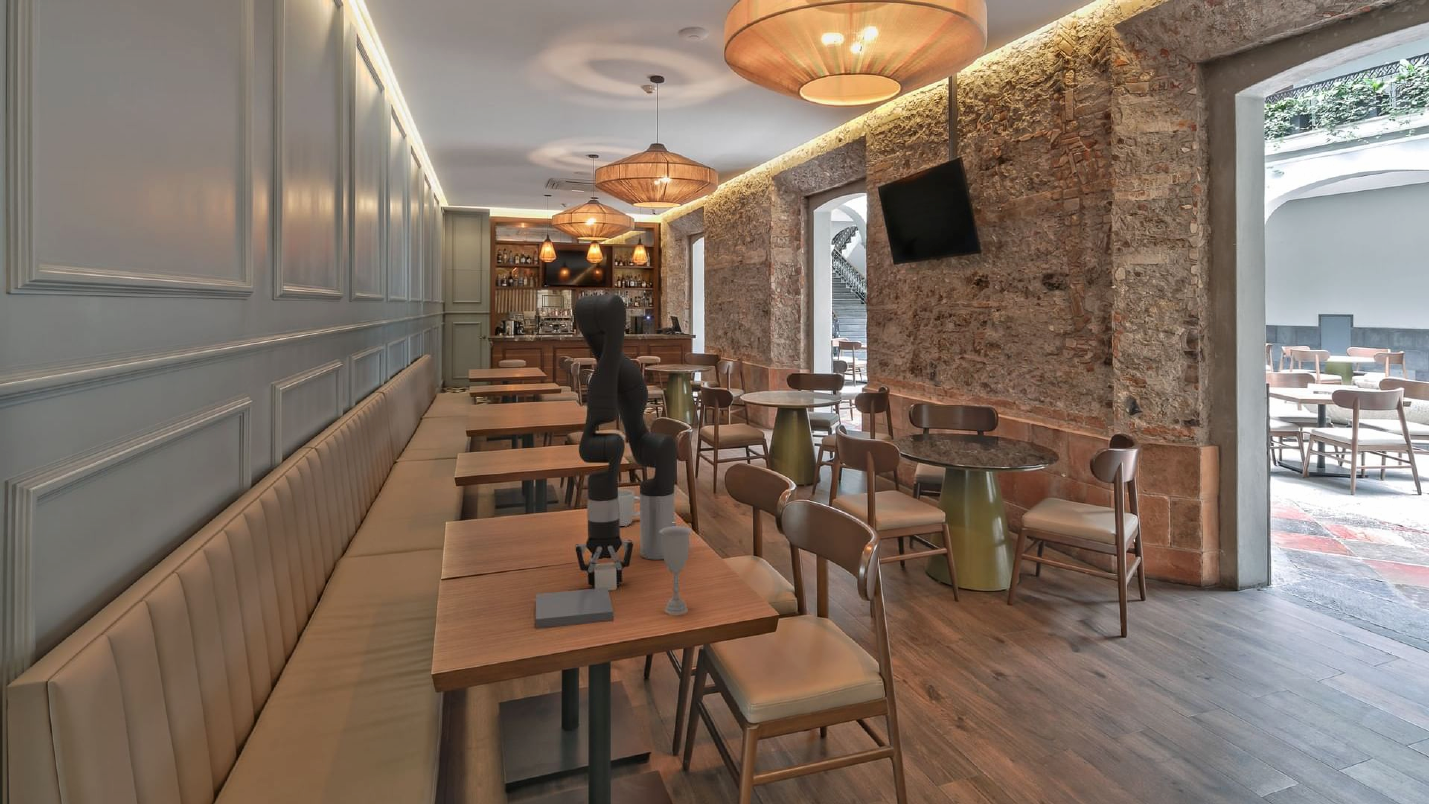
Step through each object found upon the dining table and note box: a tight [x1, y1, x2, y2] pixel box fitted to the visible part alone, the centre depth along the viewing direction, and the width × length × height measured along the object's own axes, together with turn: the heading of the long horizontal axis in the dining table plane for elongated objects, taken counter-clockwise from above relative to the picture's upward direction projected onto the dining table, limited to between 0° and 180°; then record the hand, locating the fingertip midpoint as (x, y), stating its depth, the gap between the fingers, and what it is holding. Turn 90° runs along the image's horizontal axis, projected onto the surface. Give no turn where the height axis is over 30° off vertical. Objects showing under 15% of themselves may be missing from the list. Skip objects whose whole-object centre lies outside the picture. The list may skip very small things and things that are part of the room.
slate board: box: [535, 588, 614, 629], centre depth 157 cm, size 16×14×2 cm
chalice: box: [659, 525, 692, 616], centre depth 157 cm, size 7×7×18 cm
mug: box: [618, 489, 640, 527], centre depth 224 cm, size 13×9×10 cm
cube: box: [593, 562, 618, 591], centre depth 171 cm, size 5×5×5 cm
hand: (605, 584), depth 172 cm, fingers open, 5 cm apart
